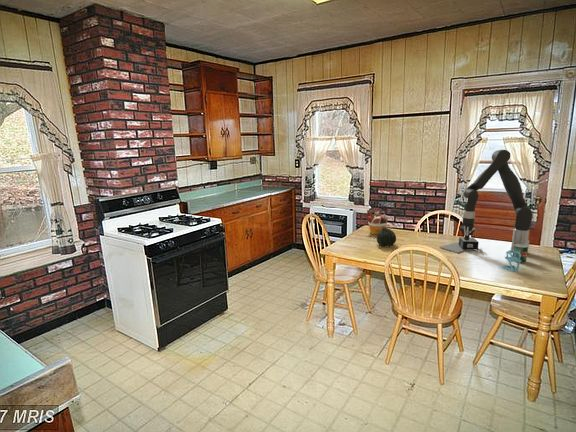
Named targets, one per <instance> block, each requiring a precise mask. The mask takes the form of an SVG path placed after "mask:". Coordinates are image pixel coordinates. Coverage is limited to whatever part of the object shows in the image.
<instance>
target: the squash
mask: <svg viewBox="0 0 576 432" xmlns="http://www.w3.org/2000/svg"><path fill="white" fill-rule="evenodd" d="M376 242H377V244H378V245H379V246H382V247H388V248H389V247H390V246H393V245H395V243H396V242H397V236H396V233H395V232H394V231H393V230H392V229H390V228H388V227H386V228H384V227H383V228H382V229H381V230H380V231H379V233H378V234H377V235H376Z"/></svg>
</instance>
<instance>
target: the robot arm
mask: <svg viewBox="0 0 576 432" xmlns="http://www.w3.org/2000/svg"><path fill="white" fill-rule="evenodd" d="M511 156H512V155H511V152H510V151H509V150H507V149H499V150H496V151H493V153H492V154H491V161H492V162H491V163H490V164H489V166H488V167H486V168H485V169H484V171H482V172H481V173H480V174H479V175H478V176H477V177H476V179H474V181H473V182H471V184H470V185H469V186H467V188H465V189H464V191H463V196H464V198H465V199H467V202H465V203H464V205H463V213H462V223H461V225H459V226H458V228H459V230H460V232H461V234H463V235H464V239H465V240H469V238H470V236H473V235H474V233H476V232H477V231H478V230H477V228H475V219H476V218H475V217H476V205H477V204H478V203H477V202H478V200H479V192H478V191H479V190H482V189H483V188H484V187H485V186H486V185H487V183H488V182H489V181H490V180H491V179H492V177H494V175H495V174H496V173H497V172H498V174H499V177H500V179H501V182H502V185H503V187H504V189H505V192H506V194H507V195H508V197H509V199H510V201H511V202H512V206H513V210H514V214H515V220H514V221H515V223H514V224H513V229H512V240H511V248H510V250H513V248H514V244H525V245H527V246H528V248H529V246H530V240H529V235H530V230H531V226H532V221H533V211H532V209H531V208H530V207H529V206H528V204H527V202H526V200H525V198H524V194H523V188H522V185H521V182H520V181H519V178H518V177H517V175H516V174H515V173H514V171H513V170H512V169H511V168H510V166H509V163H508V162H509V160H510V159H511ZM528 253H529V250H528V251H527V254H528Z"/></svg>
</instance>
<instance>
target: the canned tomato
mask: <svg viewBox="0 0 576 432" xmlns="http://www.w3.org/2000/svg"><path fill="white" fill-rule="evenodd" d="M513 250H514V251H518V252H520V254H521V257H520V256H519V254H518V253H517V254H516V257H517V258H518V259H519V257H520V260H522V261H521V262H520V264H526V263H527V259H528V258H527V257H528V253H527V251H528V252H529V247H528V246H527V245H525V244H514V248H513ZM512 255H513V256H512V257H514V255H515V253H512ZM515 263H516V264H517V263H518V262H515Z"/></svg>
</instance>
